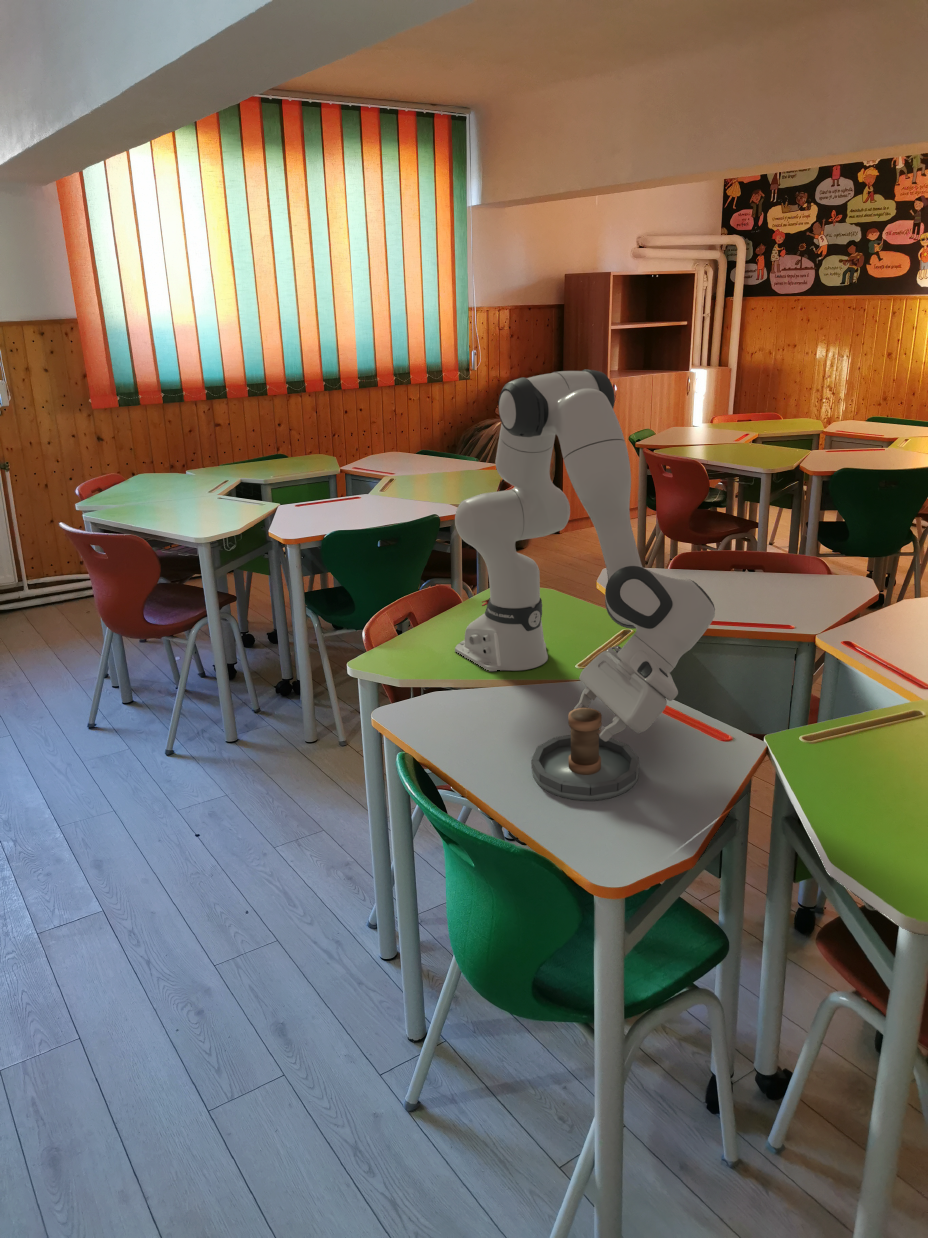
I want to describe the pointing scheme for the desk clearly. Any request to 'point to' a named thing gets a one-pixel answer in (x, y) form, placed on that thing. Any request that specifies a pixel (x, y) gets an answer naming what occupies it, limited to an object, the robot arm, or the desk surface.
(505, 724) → the desk surface
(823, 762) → the desk surface
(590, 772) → the brown flared cylinder
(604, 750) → the round dish
